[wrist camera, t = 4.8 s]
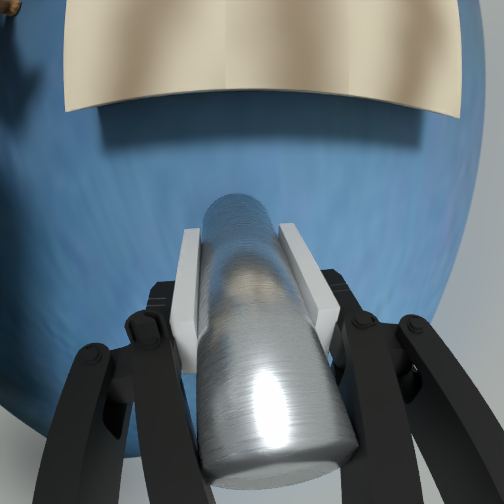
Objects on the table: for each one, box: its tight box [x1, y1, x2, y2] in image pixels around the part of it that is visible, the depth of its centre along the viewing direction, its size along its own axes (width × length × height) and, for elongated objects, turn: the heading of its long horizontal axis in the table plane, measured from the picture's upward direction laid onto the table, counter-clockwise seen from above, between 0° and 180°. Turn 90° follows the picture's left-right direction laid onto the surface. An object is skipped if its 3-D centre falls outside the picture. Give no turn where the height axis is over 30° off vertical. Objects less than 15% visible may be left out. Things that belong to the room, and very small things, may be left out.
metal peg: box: [196, 194, 359, 490], centre depth 12 cm, size 4×4×14 cm
